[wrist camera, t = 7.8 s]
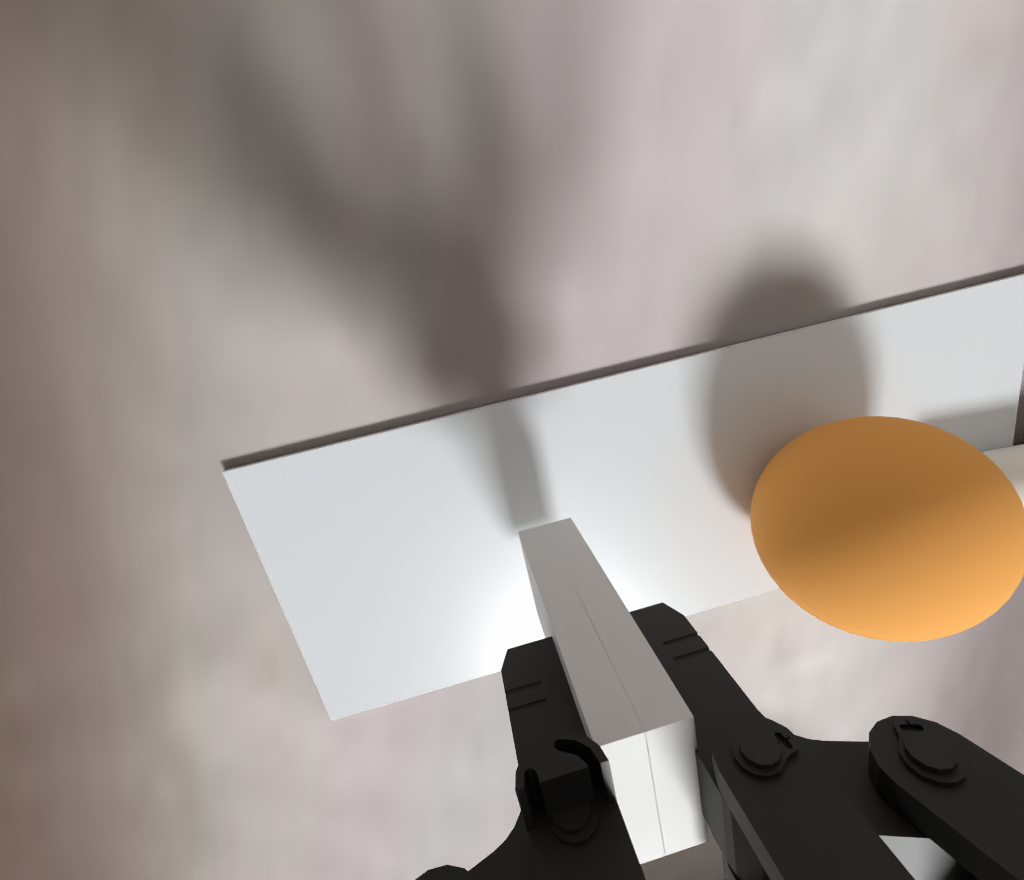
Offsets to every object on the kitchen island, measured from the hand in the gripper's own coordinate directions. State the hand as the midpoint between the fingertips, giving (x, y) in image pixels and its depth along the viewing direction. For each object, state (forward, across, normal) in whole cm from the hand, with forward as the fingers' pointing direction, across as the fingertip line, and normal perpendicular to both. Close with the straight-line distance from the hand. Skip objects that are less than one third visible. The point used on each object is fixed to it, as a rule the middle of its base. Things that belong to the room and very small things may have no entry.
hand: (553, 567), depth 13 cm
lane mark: (+2, +4, 0) cm, 5 cm away
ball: (-1, +9, -1) cm, 9 cm away
